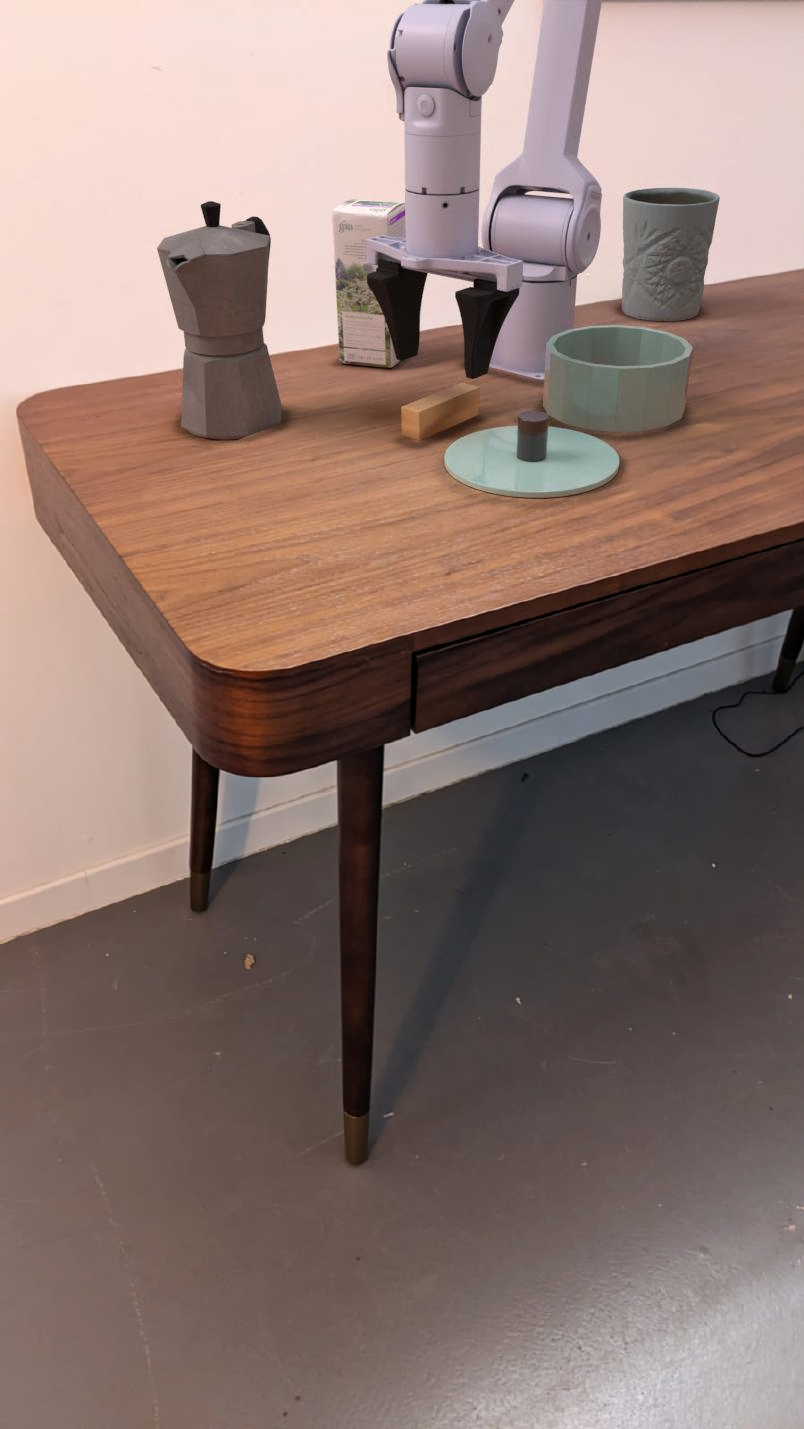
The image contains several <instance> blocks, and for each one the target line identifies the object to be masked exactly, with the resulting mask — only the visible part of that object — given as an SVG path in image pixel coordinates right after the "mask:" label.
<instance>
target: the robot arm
mask: <svg viewBox="0 0 804 1429" xmlns="http://www.w3.org/2000/svg"><path fill="white" fill-rule="evenodd" d="M514 2H515V0H423V1H422V2H421V3H414V4H411V5H409V6H408V7H407V8H405V11H404V12H401V13H400V14H399V15H397V17H396V19H395V21H394V23H393V26H392V28H391V33H390V37H389V47H388V48H389V49H388V50H386V60H387V62H386V63H387V68H388V73H389V74H388V75H389V77H390V81H391V83H392V86H393V87H394V91H395V97H396V98H395V99H396V100H395V101H396V113H397V114H398V120H400V121H402V122H403V130H404V131H403V134H404V136H403V138H404V139H403V140H404V202H405V227H406V238H400V237H390V236H384V235H382V236H378V237H374V238H370V239H367V263H368V264H372V265H378V268H376V272H373V273H369V274H368V275H367V284H368V286H369V287H370V289H371V290H372V292H373V294H374V296H375V297H376V299H377V301H378V303H379V305H380V307H381V310H382V312H383V315H384V317H385V320H386V323H387V326H388V329H389V333H390V336H391V340H392V344H393V348H394V352H395V355H396V359H397V360H400V361H405V360H408V359H410V358H413V357H416V356H418V354H419V348H420V339H421V336H420V334H421V312H422V311H421V310H422V302H423V297H424V296H423V295H424V291H425V287H426V286H425V285H426V282H427V277H428V274H429V275H430V274H431V275H435V276H441V277H445V278H450V279H455V280H461V281H464V282H471V283H472V286H469V287H466V288H463V289H459V290H457V291H455V292H454V296H455V301H456V303H457V304H456V305H457V308H458V310H459V316H460V319H461V325H462V331H463V361H464V362H463V363H464V364H463V366H464V373H465V378H466V379H469V380H470V379H471V380H475V379H477V378H480V377H482V376H485V375H488V374H489V369H490V368H493V369H497V370H502V371H504V372H505V371H506V372H509V373H512V374H517V375H520V376H525V377H528V378H532V379H537V380H543V381H544V376H545V359H546V344H547V342H548V341H549V340H550V339H551V337H552V336H554V335H556V334H559V333H561V332H564V331H566V330H569V329H575V328H574V327H575V314H576V301H577V300H576V299H577V285H578V275H579V274H582V273H584V272H585V271H586V270H587V268H589V266H591V264H592V263H593V261H594V259H595V258H596V255H597V252H598V247H599V244H600V239H601V232H602V231H601V230H602V219H601V210H602V209H601V208H602V198H603V193H602V190H603V189H602V186H601V185H600V183H599V181H598V180H597V179H596V177H595V176H594V175H593V174H592V173H591V172H590V171H589V170H588V169H587V168H586V166H585V165H584V164H583V163H582V161H581V160H580V159H579V157H578V155H579V150H580V149H579V148H580V143H581V135H582V129H583V124H584V123H583V122H584V117H585V110H586V104H587V97H588V92H589V85H590V80H591V79H590V78H591V73H592V72H591V71H592V66H593V60H594V54H595V47H596V41H597V34H598V27H599V21H600V16H601V11H602V10H601V9H602V3H603V0H543V7H542V13H541V20H540V27H539V34H538V41H537V48H536V55H535V61H534V62H535V63H534V70H533V77H532V84H531V90H530V97H529V105H528V111H527V117H526V118H527V119H526V125H525V133H524V140H523V147H522V152H521V153H520V154H519V156H517V157H516V158H515V159H513V160H512V161H511V162H509V163H508V164H507V165H506V166H504V167H503V168H502V169H501V170H500V171H498V172H497V173H496V174H495V175H494V179H493V183H492V188H491V193H490V196H489V200H488V204H487V205H486V207H485V211H484V214H483V217H482V222H481V233H480V238H481V244H482V246H479V231H480V230H479V228H480V226H479V224H480V187H481V186H480V185H481V184H480V183H481V147H482V144H481V143H482V142H481V141H482V105H483V104H482V103H483V102H482V101H483V100H482V99H483V96H484V95H485V94H487V92H488V90H489V89H490V87H491V85H493V83H494V81H495V80H494V79H495V76H496V72H497V67H498V60H499V54H500V53H499V52H500V48H501V46H502V43H503V37H504V30H503V26H502V25H503V24H504V21H505V20H506V18H507V16H508V14H509V12H510V11H511V8H512V7H513V4H514ZM530 192H541V193H542V192H543V193H553V194H565V195H571V197H561V196H560V197H559V196H550V195H537V194H527V193H530Z"/></svg>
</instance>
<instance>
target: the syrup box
mask: <svg viewBox="0 0 804 1429" xmlns="http://www.w3.org/2000/svg"><path fill="white" fill-rule="evenodd" d="M331 220H332V222H331V223H332V240H333V241H332V242H333V256H334V257H333V260H334V261H333V262H334V279H335V280H334V281H335V298H336V299H335V300H336V301H335V302H336V303H335V304H336V317H337V318H336V319H337V320H336V322H337V338H338V360H339V363H340V364H345V365H346V364H347V365H356V366H364V367H365V366H366V367H373V368H385V369H391V368H393V367H395V366H396V365H398V363H399V362H400V361H401V360H397V359H396V355H395V352H394V348H393V344H392V340H391V336H390V333H389V329H388V326H387V323H386V320H385V317H384V315H383V312H382V310H381V307H380V305H379V303H378V301H377V299H376V297H375V296H374V294H373V292H372V290H371V289H370V287H369V286H368V284H367V275H368V274H369V273H373V272H376V268H378V265H372V264H368V263H367V239H370V238H374V237H378V236H382V235H384V236H390V237H400V238H406V227H405V201H393V200H392V201H390V200H389V201H388V200H373V199H372V200H370V199H349V200H346V201H343V202H342V203H340V204H338V206H336V207H335V208H333V209H332V210H331Z"/></svg>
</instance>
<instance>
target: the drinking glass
mask: <svg viewBox="0 0 804 1429" xmlns="http://www.w3.org/2000/svg"><path fill="white" fill-rule="evenodd" d="M720 199H721V198H720V194H718V193H716V192H713V191H710V190H706V189H700V188H689V187H686V188H685V187H652V188H642V189H635V190H632V191H631V190H630V191H628V192H625V193H624V194H623V197H622V240H623V258H622V266H623V272H622V288H621V309H622V312H623V313H624V314H625V315H626V316H628V317H631V318H634V319H638V320H643V321H651V322H679V321H685V320H689V319H690V320H691V319H693V318H695V317H697V316H698V314H699V312H700V311H701V305H702V301H703V294H704V290H705V289H704V288H705V275H706V271H707V267H708V264H709V254H710V248H711V246H712V244H713V237H714V232H715V225H716V220H717V215H718V214H717V213H718V209H719V204H720Z"/></svg>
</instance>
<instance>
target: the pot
mask: <svg viewBox="0 0 804 1429" xmlns="http://www.w3.org/2000/svg"><path fill="white" fill-rule="evenodd" d="M693 349H694V347H693V346H692V345H691V344H690V343H689V342H688V340H687V339H686V338H683V337H681V336H679V335H676V334H674V333H672V332H669V331H666V330H661V329H656V328H652V327H646V326H635V325H623V324H607V325H604V324H603V325H588V326H582V327H581V326H580V327H576V328H574V329H569V330H566V331H564V332H561V333H559V334H556V335H554V336H552V337H551V339H550V340H549V341H548V342H547V344H546V359H545V376H544V380H543V392H542V394H543V395H542V406H543V408H544V411H545V413H546V414H548V415H549V417H551V418H552V419H555V420H556V421H558V422H560V423H561V424H565V425H569V426H572V427H576V428H580V429H583V430H588V431H596V432H597V431H598V432H606V433H607V432H608V433H635V432H638V433H639V432H646V431H651V430H657V429H662V428H666V427H669V426H670V425H672V424H674V423H675V422H678V421H680V420H681V419H682V418H683V415H684V413H685V410H686V404H687V395H688V388H689V382H690V372H691V368H692V367H691V366H692V359H693V351H694V350H693Z"/></svg>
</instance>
